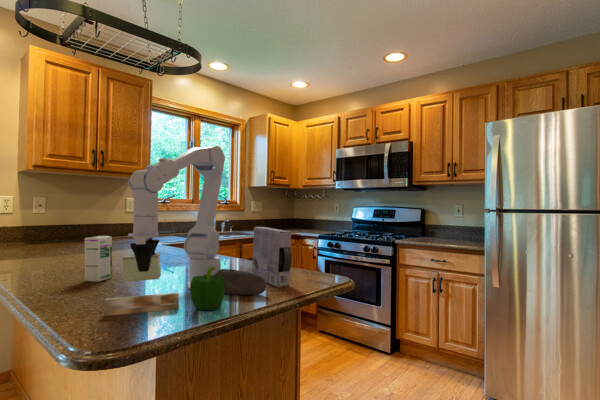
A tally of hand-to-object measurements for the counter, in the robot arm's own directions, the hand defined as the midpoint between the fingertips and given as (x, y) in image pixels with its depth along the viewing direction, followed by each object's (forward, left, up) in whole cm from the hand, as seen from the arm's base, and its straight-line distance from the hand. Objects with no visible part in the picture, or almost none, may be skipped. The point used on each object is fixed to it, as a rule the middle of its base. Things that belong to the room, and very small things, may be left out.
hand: (145, 269), depth 86 cm
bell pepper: (-15, +9, -9) cm, 20 cm away
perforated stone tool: (-25, -1, -9) cm, 27 cm away
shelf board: (0, +1, -9) cm, 9 cm away
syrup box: (+17, -35, -9) cm, 40 cm away
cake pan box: (-37, -13, -9) cm, 40 cm away
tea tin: (0, 0, -2) cm, 2 cm away
